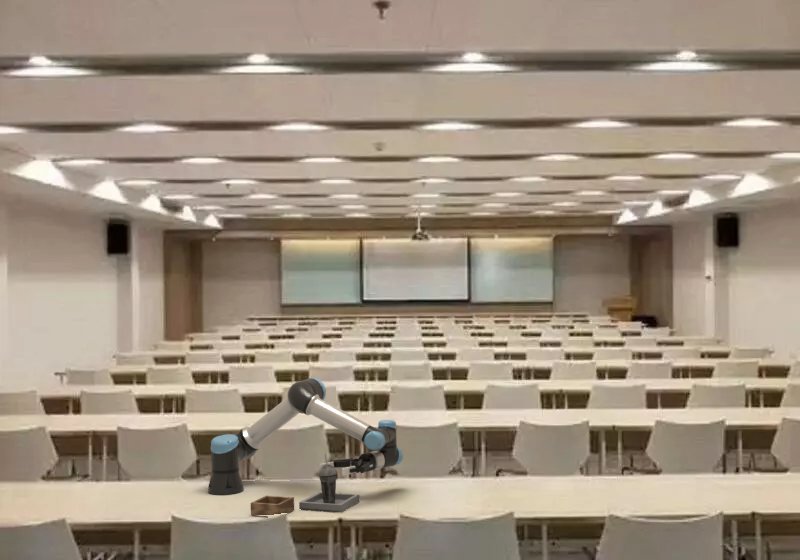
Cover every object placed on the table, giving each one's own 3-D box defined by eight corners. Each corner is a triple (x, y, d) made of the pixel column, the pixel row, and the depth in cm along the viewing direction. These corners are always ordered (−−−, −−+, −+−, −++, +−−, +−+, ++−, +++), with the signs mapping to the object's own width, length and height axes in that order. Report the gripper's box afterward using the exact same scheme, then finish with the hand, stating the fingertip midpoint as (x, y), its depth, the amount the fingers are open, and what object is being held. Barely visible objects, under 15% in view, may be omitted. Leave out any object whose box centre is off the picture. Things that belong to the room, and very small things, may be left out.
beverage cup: (342, 502, 393) (339, 452, 392) (331, 506, 386) (329, 456, 386) (327, 500, 396) (324, 451, 396) (316, 505, 390) (314, 454, 390)
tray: (299, 509, 386) (299, 502, 386) (319, 499, 403) (319, 491, 403) (340, 512, 380) (340, 505, 380) (359, 501, 396) (359, 494, 396)
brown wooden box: (250, 515, 379) (250, 502, 379) (266, 508, 390) (266, 495, 390) (279, 518, 374) (279, 504, 374) (294, 510, 386) (293, 497, 386)
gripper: (391, 474, 397) (352, 483, 382) (351, 466, 415) (312, 474, 400) (391, 455, 397) (351, 464, 382) (351, 448, 415) (311, 456, 400)
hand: (331, 469), depth 391 cm, fingers open, 13 cm apart
